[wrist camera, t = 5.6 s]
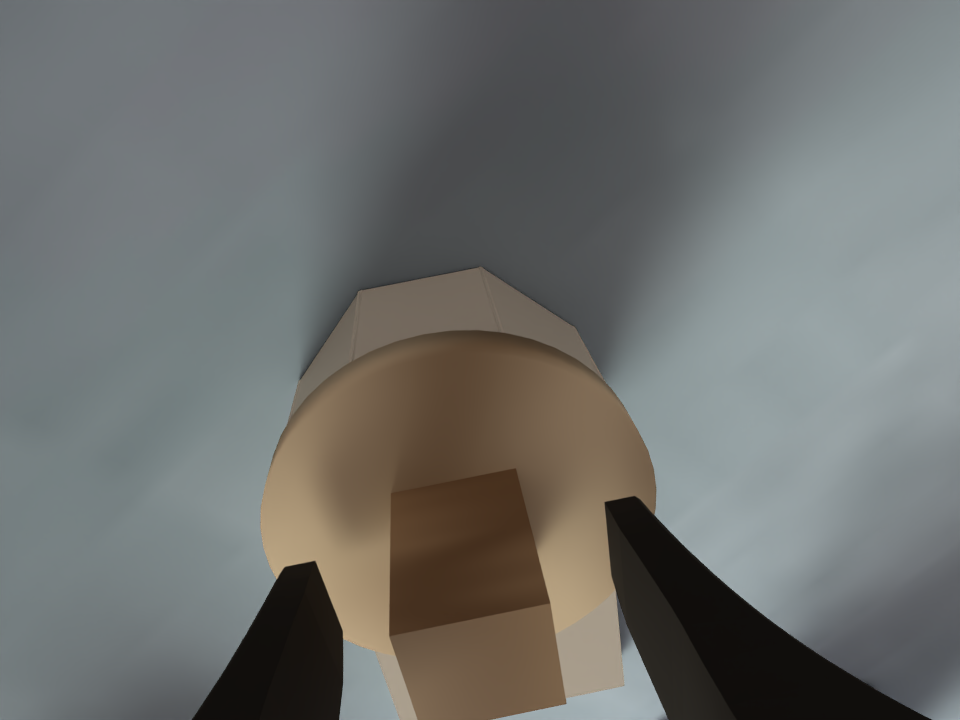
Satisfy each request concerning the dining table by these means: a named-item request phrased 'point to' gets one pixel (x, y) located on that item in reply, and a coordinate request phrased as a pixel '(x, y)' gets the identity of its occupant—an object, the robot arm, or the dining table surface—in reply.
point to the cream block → (582, 655)
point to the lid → (458, 510)
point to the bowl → (437, 320)
